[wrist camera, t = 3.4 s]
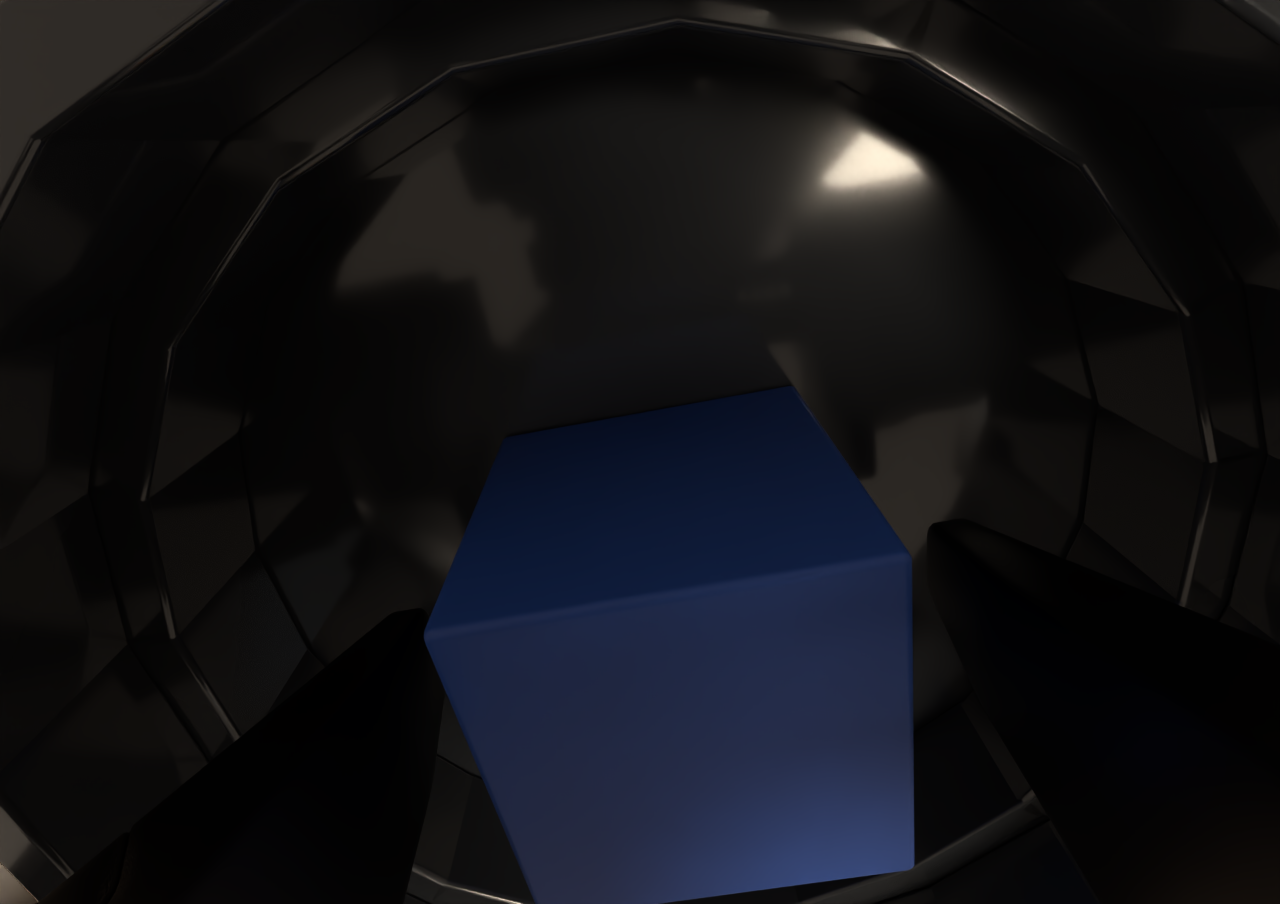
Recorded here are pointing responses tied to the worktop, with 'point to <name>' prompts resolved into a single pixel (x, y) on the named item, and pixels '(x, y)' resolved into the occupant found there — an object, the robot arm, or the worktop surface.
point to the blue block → (684, 656)
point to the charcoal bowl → (601, 342)
